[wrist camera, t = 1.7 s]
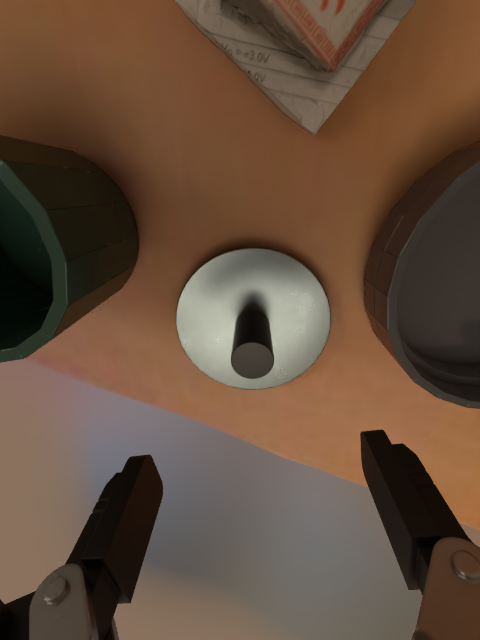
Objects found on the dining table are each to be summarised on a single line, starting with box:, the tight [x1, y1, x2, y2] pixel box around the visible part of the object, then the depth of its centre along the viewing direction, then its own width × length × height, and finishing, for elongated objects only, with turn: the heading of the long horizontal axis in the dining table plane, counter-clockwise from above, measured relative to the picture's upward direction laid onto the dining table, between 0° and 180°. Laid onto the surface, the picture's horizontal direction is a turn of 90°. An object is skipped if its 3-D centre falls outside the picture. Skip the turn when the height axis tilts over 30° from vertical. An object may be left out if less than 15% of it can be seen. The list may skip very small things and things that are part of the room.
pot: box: [0, 135, 139, 362], centre depth 17 cm, size 11×11×9 cm
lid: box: [176, 247, 331, 390], centre depth 21 cm, size 12×12×6 cm
